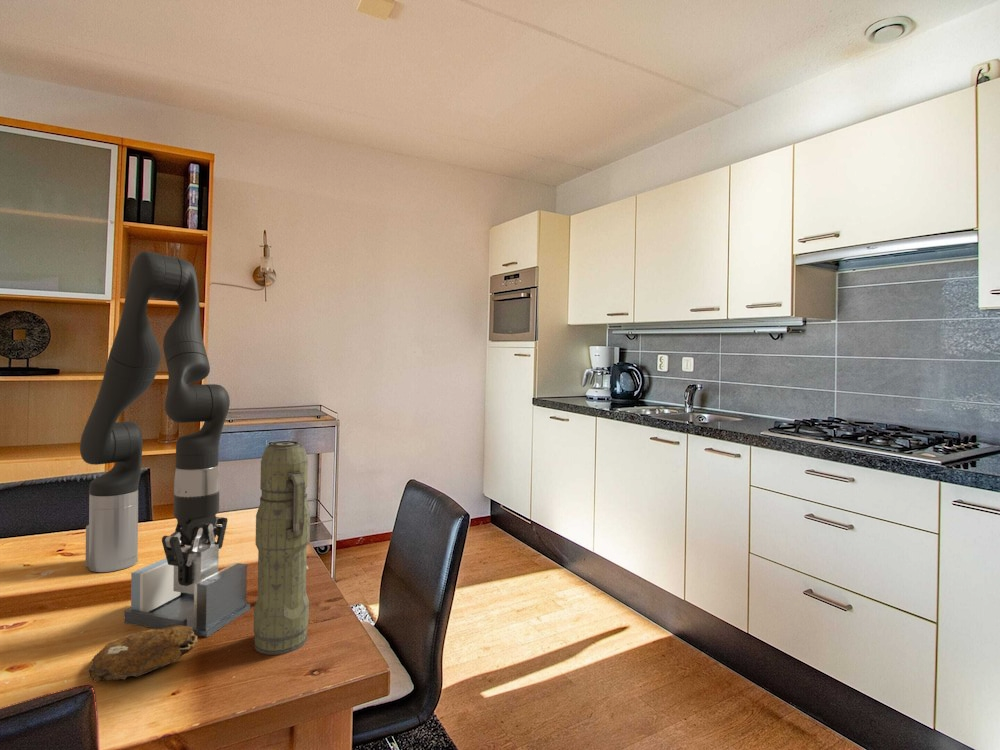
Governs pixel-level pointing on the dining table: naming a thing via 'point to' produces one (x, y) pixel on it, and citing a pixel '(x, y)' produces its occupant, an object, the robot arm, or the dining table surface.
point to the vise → (201, 604)
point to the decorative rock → (141, 652)
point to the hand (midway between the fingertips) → (196, 579)
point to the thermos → (282, 550)
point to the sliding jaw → (152, 586)
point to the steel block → (199, 566)
